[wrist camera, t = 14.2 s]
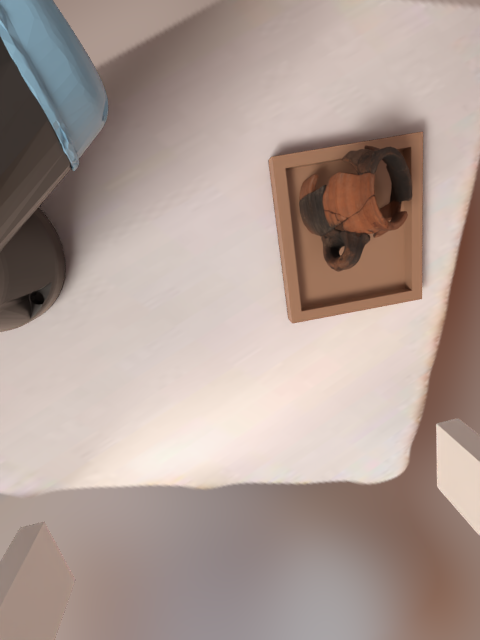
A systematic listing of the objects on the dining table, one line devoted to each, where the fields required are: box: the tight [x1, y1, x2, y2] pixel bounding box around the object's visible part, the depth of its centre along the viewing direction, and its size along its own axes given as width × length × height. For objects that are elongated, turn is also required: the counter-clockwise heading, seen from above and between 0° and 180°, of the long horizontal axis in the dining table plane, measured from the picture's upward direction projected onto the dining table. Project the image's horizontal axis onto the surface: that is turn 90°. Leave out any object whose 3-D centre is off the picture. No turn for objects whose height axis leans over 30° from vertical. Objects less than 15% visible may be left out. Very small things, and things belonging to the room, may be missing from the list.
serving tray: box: [268, 132, 423, 323], centre depth 36 cm, size 15×17×2 cm
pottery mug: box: [299, 145, 412, 272], centre depth 33 cm, size 12×10×8 cm
